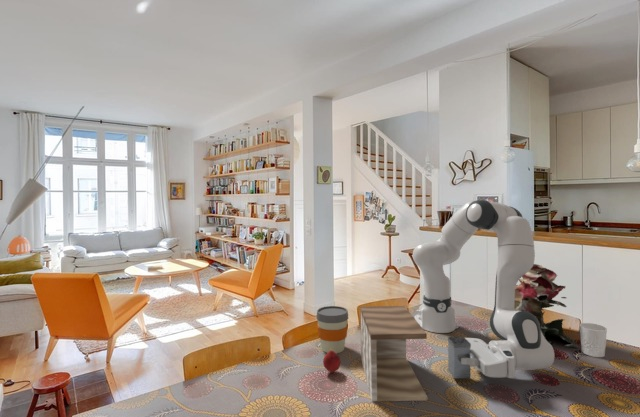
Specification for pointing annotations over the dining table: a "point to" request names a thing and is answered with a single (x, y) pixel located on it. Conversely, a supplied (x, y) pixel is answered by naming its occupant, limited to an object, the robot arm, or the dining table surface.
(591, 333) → the white cup
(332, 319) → the reusable coffee cup
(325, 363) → the red rounded piece
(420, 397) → the wooden cubby shelf
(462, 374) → the tea tin
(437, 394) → the dining table surface
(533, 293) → the rose bouquet
